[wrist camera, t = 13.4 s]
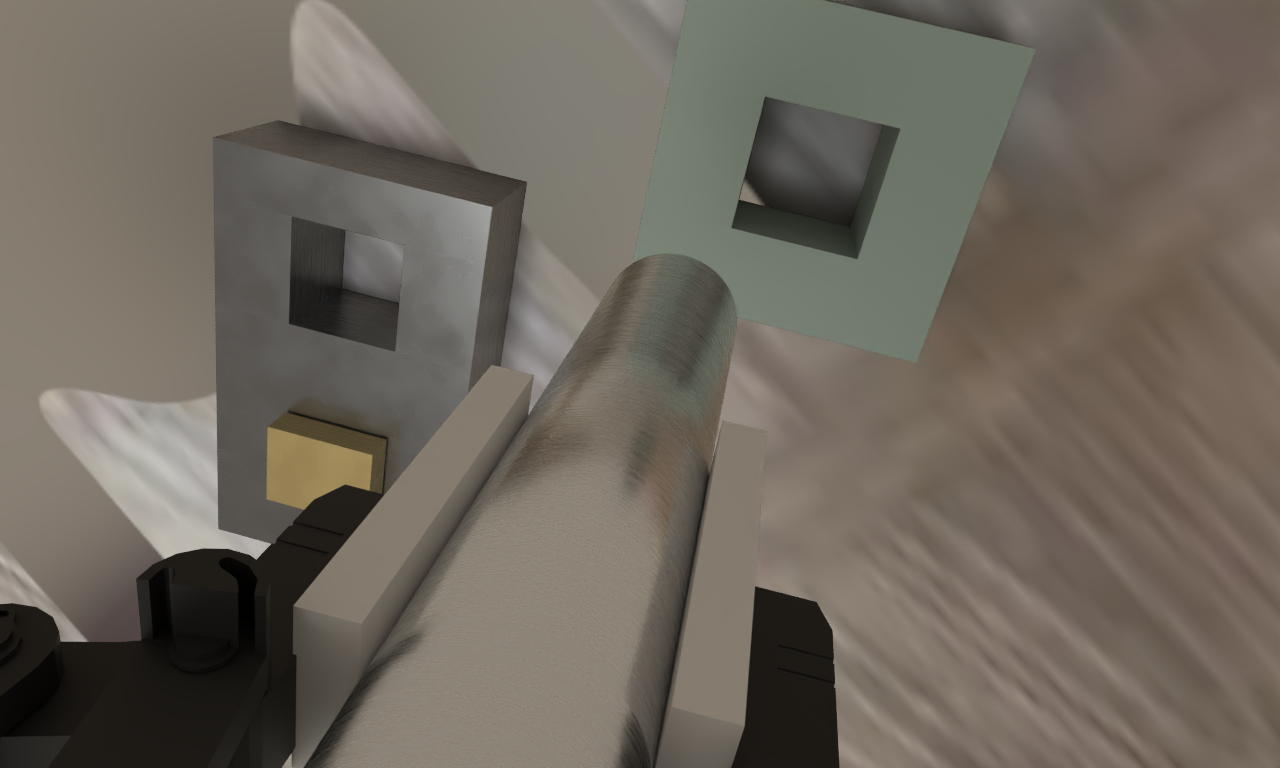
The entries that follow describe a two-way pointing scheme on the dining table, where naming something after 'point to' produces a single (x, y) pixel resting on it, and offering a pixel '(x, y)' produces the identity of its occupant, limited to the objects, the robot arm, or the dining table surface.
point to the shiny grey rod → (565, 557)
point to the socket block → (347, 299)
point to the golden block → (319, 460)
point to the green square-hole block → (895, 184)
